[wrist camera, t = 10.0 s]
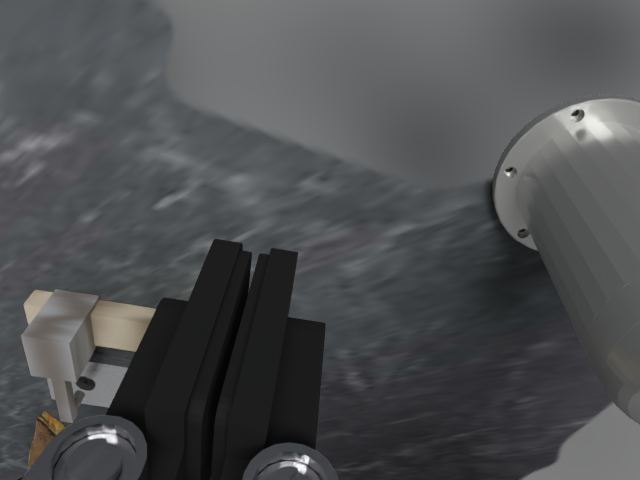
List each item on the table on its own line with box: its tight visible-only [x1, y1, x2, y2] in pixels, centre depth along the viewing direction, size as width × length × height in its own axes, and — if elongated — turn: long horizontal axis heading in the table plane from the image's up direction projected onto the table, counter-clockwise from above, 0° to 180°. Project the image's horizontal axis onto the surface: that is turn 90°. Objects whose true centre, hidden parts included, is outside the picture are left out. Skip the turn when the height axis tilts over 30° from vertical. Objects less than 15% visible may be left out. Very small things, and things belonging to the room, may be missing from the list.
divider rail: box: [21, 289, 156, 423], centre depth 49 cm, size 24×12×6 cm, turn 81°
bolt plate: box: [47, 353, 132, 408], centre depth 54 cm, size 24×7×1 cm, turn 81°
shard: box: [28, 411, 66, 470], centre depth 63 cm, size 13×9×2 cm
